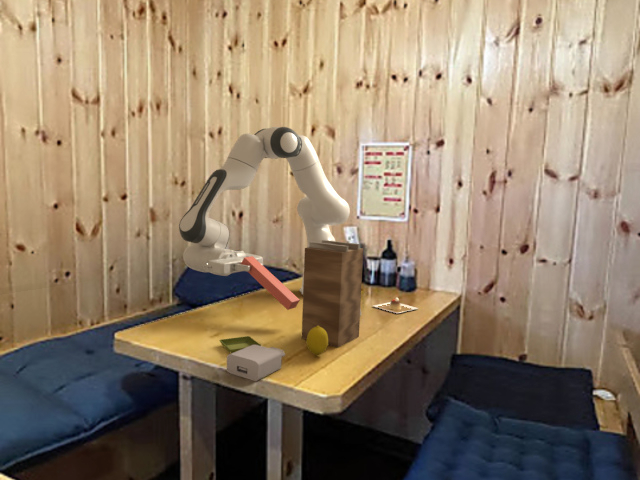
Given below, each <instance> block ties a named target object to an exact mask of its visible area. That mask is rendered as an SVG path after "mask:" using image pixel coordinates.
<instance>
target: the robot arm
mask: <svg viewBox="0 0 640 480" xmlns="http://www.w3.org/2000/svg"><path fill="white" fill-rule="evenodd" d="M264 159H271V160H273V159H274V160H277V159H286V161H287V162H288V165H289V167H290V170H291V173H292V175H293V177H294V180H295V182H296V185H297V187H298V190H300V191H301V192H302V193H304V195H305V196H304V197H302V198H300V200H299V202H298V203H297V207H296V209H297V210H296V211H297V214H298V216H299V217H300V219H301V221H302V223H303V227H304V230H305V234H306V242H307V243H306V244H307V245H306V246H307V247H306V248H308V247H309V242H318V243H322V240H329V241H336V238H335V237H334V235H333V234H332V232H331V229H330V226H338V225H343V224H344V223H346V222H347V221H348V220H349V217H350V213H351V209H350V205H349V203H348V202H347V201H346V199H344V198H342V197H341V196H340V195H339V194H338V193H337V191H336V190H335V189H334V187H333V186H332V184H331V183H330V181H329V180H328V178H327V175H326V174H325V172H324V170H323V167H322V164H321V161H320V158H319V156H318V153H317V152H316V149H315V148H314V146H313V144H312V142H311V140H310V139H309V138H308V137H307V136H305V135H303V134H298V133H297V132H296V131H295V130H293V129H292V128H290V127H287V126H271V127H268V128H262V129H259V130H258V131H256V133H254V134H253V133H243V134H241V135H240V136H239V137H238V139H237V140H236V141H235V142H234V144H233V146H232V148H231V150H230V151H229V153H228V156H227V158H226V160H225V162H224V164H222V166H221V167H220V168H219V169H216V170H214V171H213V172H212V174H210V176H209V177H208V179H207V180H206V181H205V183H204V185H203V187H202V189H201V190H200V192H199V193H198V195H197V196H196V198H195V199H194V201H193V203H192V204H191V206H190V208H189V209H188V210H187V211H186V212H185V214H184V215H183V216H182V217H181V219H180V221H179V223H178V224H179V225H178V228H179V229H178V231H179V234H180V237H181V238H182V240H184V241H185V242H189V243H192V244H190V245H188V246H186V247H185V249H184V251H183V253H182V258H183V259H182V260H183V262H184V263H185V265H186V266H187V267H188V268H189V269H192V270H193V271H197V272H200V273H201V272H202V273H210V274H213V275H217V276H222V277H228V276H229V275H231V274H235V273H240V272H247V273H248V271H251V270H252V269H251V268H252V266H251V265H242V264H241V263H242V261H243V259H244V257H251V256H253V257H254V258H255V259H256V260H257V261H258V262H260V263H261V264H262V265H263V266H264V257H263V256H261V255H257V254H253V253H248V252H245V251H244V250H240V249H239V250H232V249H230V248H227V247H228V244H229V240H230V229H229V227H228V226H227V224H225V223H223V222H220V221H218V220H216V219H213V218H211V217H209V212H210V211H211V209H212V207H213V205H215V203H216V201H217V199H218V197H219V196H220V195H221V194H223V192H225V191H231V190H232V191H236V190H237V191H238V190H243V189H246V188H248V187H249V186H250V185H251V184H252V183H253V181H254V180H255V177H256V175H257V172H258V170H259V168H260V164H261V163H262V161H263V160H264ZM302 274H303V275H302V280H301V281H302V282H301V287H299V292H300V293H301V295H302V296H303V285H304V272H303V273H302Z"/></svg>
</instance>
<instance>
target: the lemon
mask: <svg viewBox="0 0 640 480" xmlns="http://www.w3.org/2000/svg"><path fill="white" fill-rule="evenodd" d="M306 346H307V349H308V351H309V352H310V353H312V354H314V356H315V357H318V356H320V355H321V354H323V353H324V352H326V350H327V348H328V346H329V345H328V335H327V332H326V331H325V330H324V329H323V328H321V327H320V326H316V327H314V328H312V329H311V330H310V331H309V333H308V336H307V340H306Z"/></svg>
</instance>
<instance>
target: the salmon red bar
mask: <svg viewBox="0 0 640 480" xmlns="http://www.w3.org/2000/svg"><path fill="white" fill-rule="evenodd" d="M241 264H242V265H251V266H252V268H251V269H252V270H251V271H248V272H247V273H249V274H250V276H251V277H253V278H254V280H256V281H257V283H259V284H260V286H262V287H263V288H264V289H265V291H267V292H268V293H269V294H270V295H271V296H273V298H274V299H275V300H276V301H278V302H279V303H280V304H281V305H282V306H283V307H284V308H285V309H286V310H287V311H289V310H292V309H296V307H297V306H298V304H299V302H300V300H301V299H299V298H298V297H297V296H296V295H295V294H294V293H293V292H292V291H291V290H290V289H289V288H288V287H287V286H286V285H284V283H282V282H281V281H280V280H279V279H278V278H277V277H276V276H274V274H272V273H271V271H270V270H268V268H266V267H265V266H264V264H263V265H262V264H261V263H260V262H258V261H257V260H256V259H255V258H254V257H253V256H251V257H244V259H243V261H242V263H241Z"/></svg>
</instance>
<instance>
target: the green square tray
mask: <svg viewBox="0 0 640 480" xmlns="http://www.w3.org/2000/svg"><path fill="white" fill-rule="evenodd" d="M219 343H220V344H221V345H222V346H223V348H225V349H226V350H227V351H228V352H229V354H232V353H234V352H236V351H239V350H241V349H244V348H246V347H249V346H251V345H259V346H262V345H261V343H259V342H258V341H257V340H255V339H254V338H253V337H252V336H250V335H246V336H245V335H244V336H238V337H230V338H223V339H219Z"/></svg>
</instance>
